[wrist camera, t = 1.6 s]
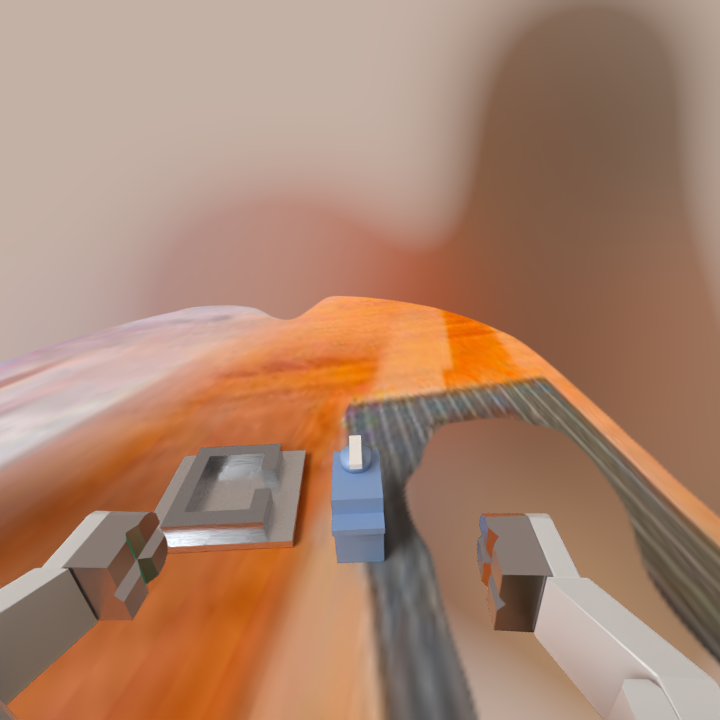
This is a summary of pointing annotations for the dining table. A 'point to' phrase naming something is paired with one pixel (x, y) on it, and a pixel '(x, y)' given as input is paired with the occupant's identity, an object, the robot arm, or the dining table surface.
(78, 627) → the robot arm
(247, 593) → the dining table surface
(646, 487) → the dining table surface
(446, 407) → the dining table surface
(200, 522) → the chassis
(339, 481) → the servo
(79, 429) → the dining table surface
